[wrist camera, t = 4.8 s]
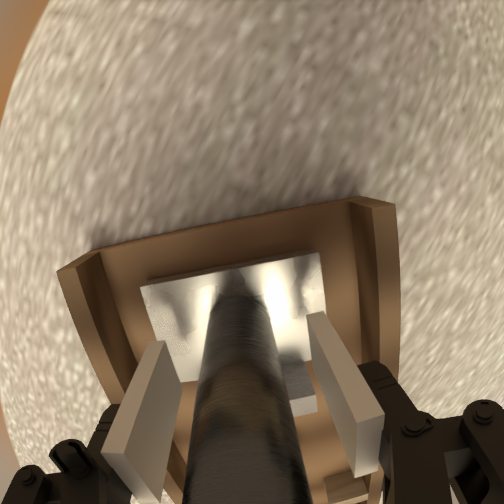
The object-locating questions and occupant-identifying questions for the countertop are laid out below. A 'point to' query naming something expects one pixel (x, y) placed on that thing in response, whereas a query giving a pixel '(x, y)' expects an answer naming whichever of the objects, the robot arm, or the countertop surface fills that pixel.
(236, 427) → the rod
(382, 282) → the lane
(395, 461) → the robot arm
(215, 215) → the countertop surface
